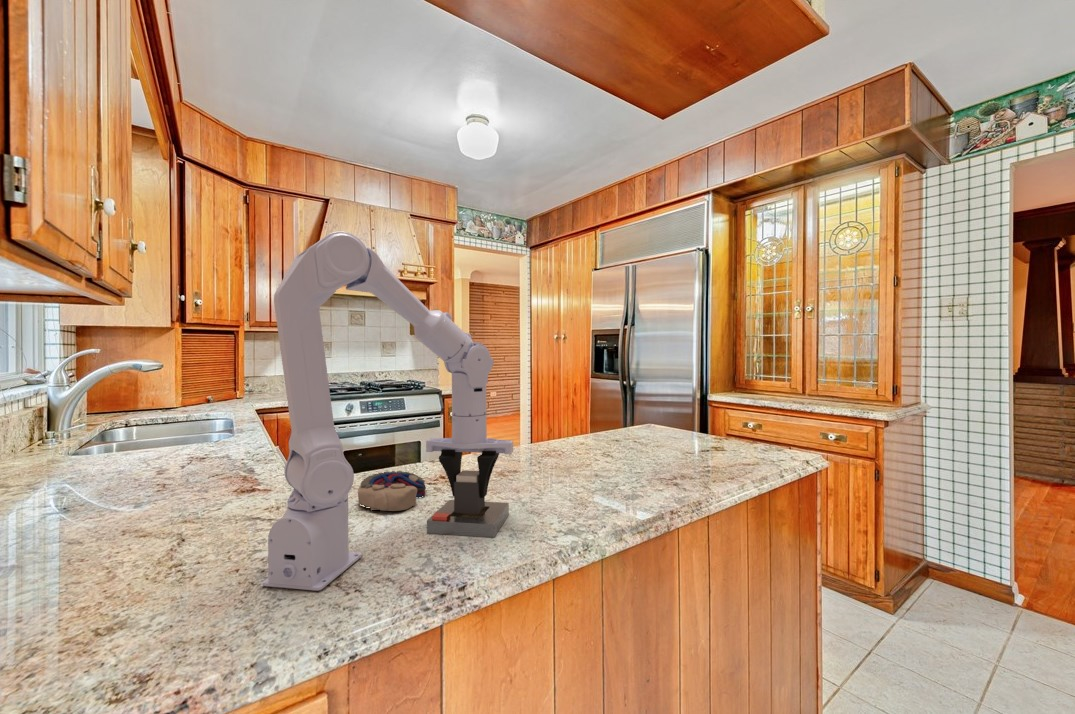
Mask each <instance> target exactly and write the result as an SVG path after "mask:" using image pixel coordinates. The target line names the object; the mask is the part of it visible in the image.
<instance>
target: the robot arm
mask: <svg viewBox="0 0 1075 714" xmlns="http://www.w3.org/2000/svg"><path fill="white" fill-rule="evenodd" d="M344 286H345V290H347V291H352V292H353V291H354V292H355V291H356V292H360V293H361V292H362V293H369V294H372V295H373V296H374V297H376V298H377V299H378V300H379V301H381V302H382V303H384V304H385V305H386V306H388V307H389V308H390V309H391V310H393V311H394V312H395V313H397V314H398V316H400V317H401V318H403V319H404V320H405V321H407V322H409V324H411V325H412V326H413V329H414V331H413V332H414V338H416V340H418V341H419V342H420V343H421V344H423V345H424V346H425V347H426V348H427V349H429V350H430V351H431V352H432V353H433V354H435V355H436V356H437V357H438V358H439V359H441V360H442V362H443V365H444V368H445V370H446V371H447V372H448V373H451V437H442V438H434V437H433V438H432V437H431V438H429V439H426V440H425V443H426V444H425V446H426V447H425V450H426V451H425V452H426V453H433V452H441V453H440V455H439V456H438V461H439V463H440V464H441V466H442V469H443V470H444V472H445V474H446V476H447V479H448V482H449V486H450V490H451V493H452V494H451V495H452V497H453V498H454V482H455V481H456V476H457V475H458V474H459V473H460V472H462V471H461V470H462V457H463V453H481V454H480V455H478V456H477V457H476V459H477V466H478V471H479V495H480V498H484V497H485V498H486V496H487V494H488V488H489V484H490V483H489V482H490V479H491V475H492V474H493V473H492V472H493V470H494V467H495V465H496V462H497V460H498V458H499V456H500V454H504V455H508V456H509V455H512V454H513V452H514V440H510V439H509V440H507V439H498V438H497V439H496V438H489V437H488V434H487V433H488V432H487V431H488V430H487V427H488V426H487V424H488V422H487V411H488V410H487V384H489V383H488V382H489V374H490V373H491V372H492V369H493V366H494V360H495V359H494V358H492V355H491V353H490V350H489V348H488V347H487V346H486V345H485V344H483V343H481V342H478V341H477V342H476V341H475V342H474V341H473V339H472V335H471V334H470V333H469V332H466V331H465V332H464V330H462V329H461V328H460V327H459V326H458V325H457V324H456V323H455V322H454V321H453V320H452V319H453V316H452V314H450V313H449V312H443V311H442V310H439V309H436V310H435V309H433V310H430V309H429V308H428V307H426V305H425V304H424V303H423V302H422V301H421V300H419V299H418V298H417V296H416V295H415V294H414V293H413V292H412V291H411V290H409V288H408V287H407V286H406V285H405V284H404V283H403V282H402V281H401V280H400V279H399V278H398V277H397V276H396V275H395V274H394V273H393V272H392V271H391V270H390V269H389V268H388V267H387V266H386V265H385V264H384V262H383V261H382V259H381V258H380V256H379V255H378V253H377V252H376V251H374V250H373V249H371V248H369V247H366V245H365V244H364V242H363V241H362V240H361V239H360V238H359V237H357V236H356V235H354V234H353V233H350V232H346V231H333V232H330V233H328V234H326V235H324V237H322V238H321V239H320V240H318V241H317V242H315V243H314V244H312V245H310V246H309V247H308V248H306V249H305V250H303V251H302V252H300V253H299V254H297V255H296V256H295V257H294V258H293V260H292V263H291V265H290V266H289V269H288V270H287V272H286V274H285V275H284V277H283V278H282V280H281V281H280V283H279V285H278V287H277V288H276V290H275V292H274V295H273V304H274V311H275V312H274V313H275V318H276V327H277V332H278V333H277V335H278V341H279V343H278V344H279V348H280V349H279V350H280V356H281V362H282V363H281V364H282V370H283V378H284V386H285V392H286V400H287V408H288V414H289V421H290V429H291V430H290V435H289V440H288V450H289V453H288V458H287V460H286V462H285V463H286V464H285V466H284V478H285V480H286V482H287V483H288V485H289V486H290V487H291V488H292V489H293V490H292V491H291V494H290V495H289V497H288V498H287V503H286V504H287V506H286V507H287V508H286V510H285V512H284V514H283V515H282V516H281V517H280V518H279V519H278V520H277V521H276V522H275V523H274V524H273V525H272V527H271V528H270V530H269V533H268V538H267V551H268V552H267V556H268V557H267V559H268V562H267V563H268V565H267V566H268V570H267V571H268V577H267V578H266V579H264V580H263V581H262V586H263V587H269V588H271V587H273V588H285V589H294V590H306V591H315V592H316V591H318V592H319V591H322V590H323V589H324V588H325V587H327V586H328V585H329V584H330V583H332V582H333V580H335V579H336V578H337V577H338V576H340V575H341V574H343V573H344V572H345V571H346V570H347V569H348V568H349V567H351V566H352V565H353V564H354V563H356V562H357V561H358V560H359V559H361V558H362V557H363V553H362V552H359V551H349V545H350V544H349V539H350V538H349V493H350V491H351V490H352V488H353V485H354V481H355V475H354V469H353V467H352V465H351V464H350V463H349V462H348V460H347V459H346V457H345V455H344V450H343V444H342V442H341V439H340V437H339V435H338V432H337V430H336V427H335V423H334V422H335V421H334V414H333V407H332V399H331V391H330V384H329V376H328V369H327V362H326V361H327V359H326V352H325V351H326V350H325V345H324V344H325V343H324V336H323V330H322V322H321V313H320V308H321V307H322V306H323V305H324V304H325V303H326V302H327V301H328V300H329V299H330V298H331V297H332V296H333V295H334V294H335V293H336V292H337V290H339V289H341V288H342V287H344Z"/></svg>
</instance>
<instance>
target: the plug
mask: <svg viewBox="0 0 1075 714" xmlns="http://www.w3.org/2000/svg"><path fill="white" fill-rule="evenodd" d="M485 499H486V496H485V497H484V498H480V495H479V470H469V469H468V470H466V469H465V470H462V471H461V472H460V473H459V474H458V475H457V476H456V481H455V482H454V497H453V500H454V513H467V514H478V513H479V512H480V511H481V510H482V508H483V507H484V506H485V502H486V500H485Z"/></svg>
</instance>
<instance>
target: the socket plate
mask: <svg viewBox="0 0 1075 714" xmlns="http://www.w3.org/2000/svg"><path fill="white" fill-rule="evenodd" d="M509 506H510V505H509V502H502V501H501V502H496V501H495V502H494V501H485V506H484V507H483V508H482V510H481V511H480V512H479V513H478V514H467V513H454V499H449V500H447V501H446V502H445V503H444V504H443V505H442V506H441V507H440V508H439V509H437V511H436V512H434V513H433V514H432V515H431V516H430V517H429V518H428V519H426V534H430V535H431V534H432V535H433V534H434V535H435V534H436V535H448V536H449V535H450V536H467V537H481V538H495V537H497V534H498V532H499V531H500V529H501V527H502V526H503V525H504V523H505V520H507V518H508V516H509V515H510V507H509Z"/></svg>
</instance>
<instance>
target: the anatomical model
mask: <svg viewBox="0 0 1075 714" xmlns="http://www.w3.org/2000/svg"><path fill="white" fill-rule="evenodd" d="M357 489H358V490H357V497H358V505H359V504H361V505H364V506H365V507H371V508H370V511H372V510H380V511H385V512H386V511H387V512H388V511H389V512H397V511H399V512H400V511H406V510H408V509H410V508H413V507H415V506H416V505H415V504H416V503H417V498H416V497H422V496H424V497H425V495H426V489H427V486H426V485H425V480H424V479H423V478H422V477H420V476H419V475H417V474H415V473H413V472H409V471H401V470H397V471H395V470H392V471H384V472H378V473H374V474H372V475H368V476H367V477H365V478H363V480H362V481H361V482H360V485H359V486H358V488H357ZM414 505H415V506H414ZM412 506H413V507H412Z"/></svg>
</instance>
